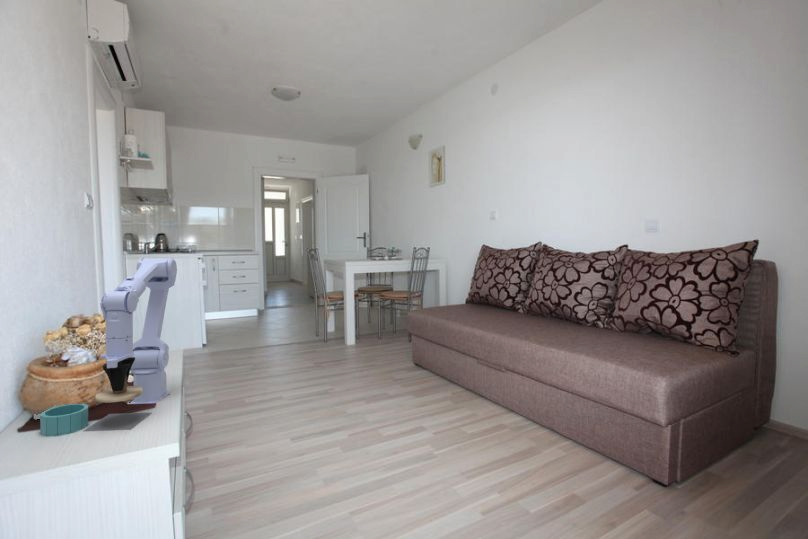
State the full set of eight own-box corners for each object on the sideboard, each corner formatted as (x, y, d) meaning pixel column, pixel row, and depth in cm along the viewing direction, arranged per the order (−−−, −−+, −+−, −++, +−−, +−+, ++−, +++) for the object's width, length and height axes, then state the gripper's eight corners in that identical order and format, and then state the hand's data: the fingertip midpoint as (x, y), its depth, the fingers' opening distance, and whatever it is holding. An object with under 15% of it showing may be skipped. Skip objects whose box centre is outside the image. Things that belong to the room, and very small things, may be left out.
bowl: (58, 423, 103) (58, 404, 103) (96, 421, 105) (96, 403, 105) (30, 438, 95) (30, 417, 94) (72, 436, 96) (72, 416, 96)
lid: (110, 390, 108) (110, 371, 108) (149, 388, 110) (149, 370, 109) (86, 403, 98) (86, 383, 98) (130, 401, 100) (130, 382, 100)
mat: (109, 415, 109) (109, 413, 109) (152, 414, 110) (152, 412, 110) (82, 433, 98) (82, 431, 98) (131, 431, 99) (131, 429, 99)
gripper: (109, 332, 109) (109, 381, 109) (91, 343, 95) (91, 399, 96) (139, 331, 111) (139, 379, 112) (126, 341, 98) (126, 396, 98)
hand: (119, 388), depth 104 cm, fingers closed on lid, 3 cm apart
